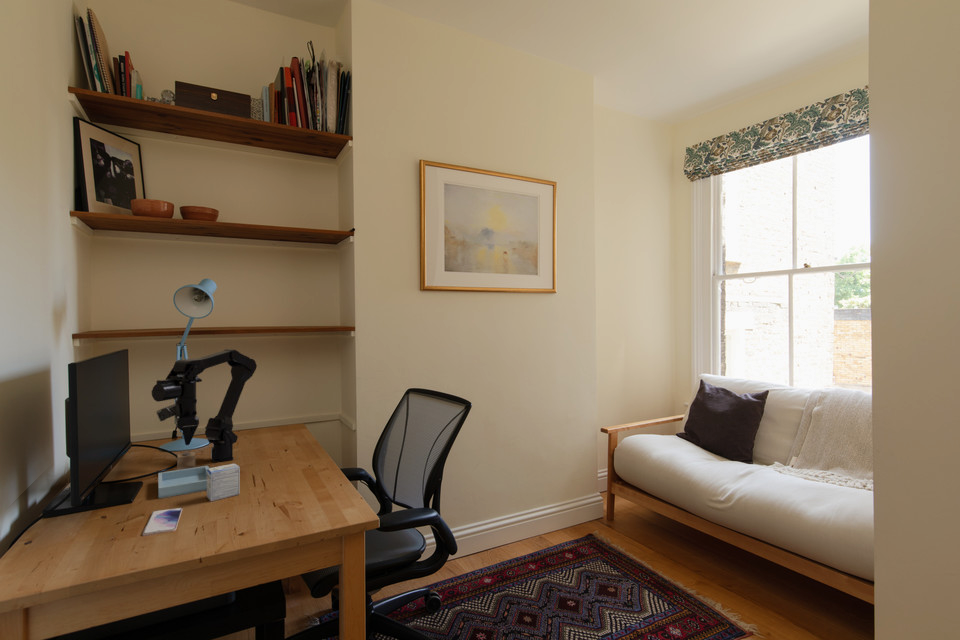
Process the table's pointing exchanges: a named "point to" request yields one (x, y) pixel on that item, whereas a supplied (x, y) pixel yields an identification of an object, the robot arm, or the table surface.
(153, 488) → the table surface
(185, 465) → the walnut block
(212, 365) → the robot arm
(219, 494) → the medicine box
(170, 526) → the smartphone
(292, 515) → the table surface
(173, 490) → the tray
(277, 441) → the table surface
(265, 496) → the table surface
